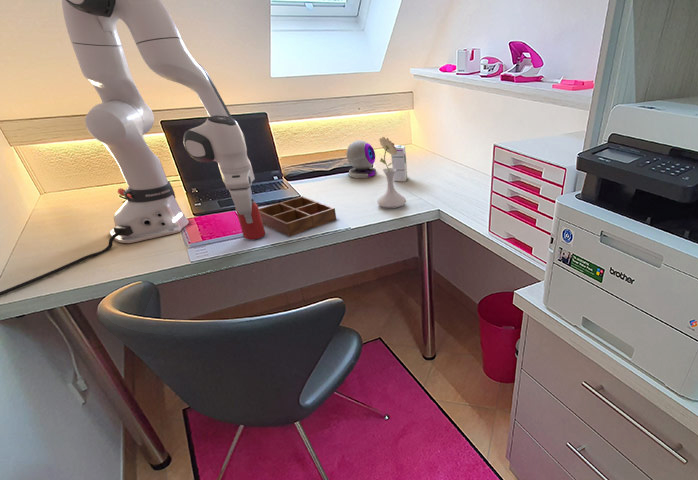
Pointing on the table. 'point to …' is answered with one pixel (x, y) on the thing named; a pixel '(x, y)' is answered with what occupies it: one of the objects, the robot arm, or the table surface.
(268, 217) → the tray
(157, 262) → the table surface
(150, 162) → the robot arm
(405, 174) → the syrup box
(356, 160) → the webcam
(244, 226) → the beer can
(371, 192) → the table surface
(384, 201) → the flower in vase
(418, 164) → the table surface
